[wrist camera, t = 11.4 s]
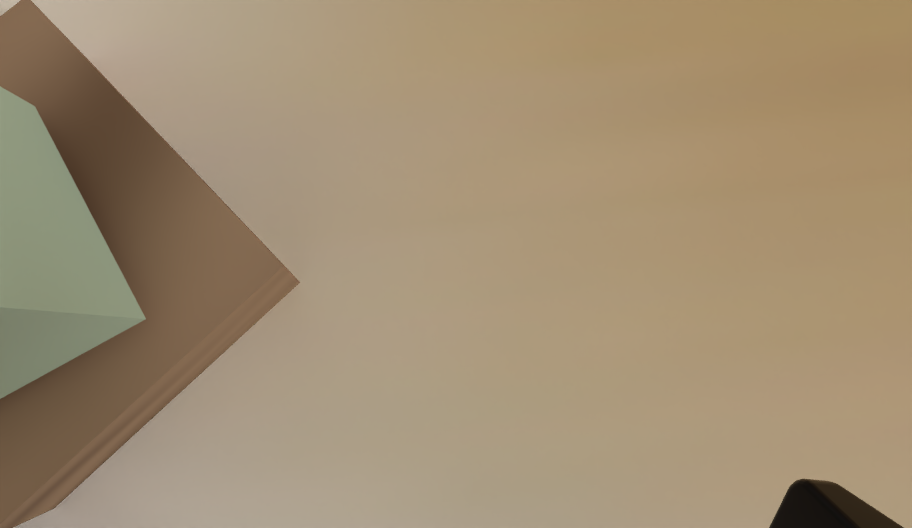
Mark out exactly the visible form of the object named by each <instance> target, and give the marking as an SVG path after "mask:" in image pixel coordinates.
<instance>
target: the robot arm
mask: <svg viewBox="0 0 912 528" xmlns="http://www.w3.org/2000/svg"><path fill="white" fill-rule="evenodd" d="M769 528H903V527H902V526H900V525H899V524H897V523H896V522H894V521H893V520H891V519H890V518H888V517H887V516H885V515H884V514H882V513H881V512H879V511H878V510H876V509H875V508H873V507H872V506H870V505H869V504H867V503H866V502H864V501H863V500H861V499H859V498H858V497H856V496H855V495H853V494H852V493H850V492H849V491H847V490H846V489H844V488H843V487H841V486H840V485H838V484H836V483H833V482H830V481H821V480H811V479H800V480H797V481H795V482H794V483H793V484H792V485H791V486H790V487H789V489H788V491H787V493H786V495H785V497H784V499H783V501H782V503H781V505H780V507H779V509H778V511H777V513H776V515H775V517H774V519H773V521H772V523H771V525H770V527H769Z"/></svg>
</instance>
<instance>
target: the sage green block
mask: <svg viewBox="0 0 912 528" xmlns="http://www.w3.org/2000/svg"><path fill="white" fill-rule="evenodd" d="M145 319H146V318H145V316H144V314H143V312H142V310H141V308H140V306H139V305H138V303H137V301H136V299H135V297H134V295H133V293H132V291H131V289H130V287H129V285H128V284H127V282H126V280H125V278H124V276H123V274H122V272H121V270H120V268H119V266H118V264H117V262H116V261H115V259H114V257H113V255H112V253H111V251H110V249H109V247H108V245H107V243H106V241H105V240H104V238H103V236H102V234H101V232H100V230H99V228H98V226H97V224H96V222H95V220H94V218H93V217H92V215H91V213H90V211H89V209H88V207H87V205H86V203H85V201H84V199H83V197H82V195H81V194H80V192H79V190H78V188H77V186H76V184H75V182H74V180H73V178H72V176H71V174H70V173H69V171H68V169H67V167H66V165H65V163H64V161H63V159H62V157H61V155H60V153H59V151H58V150H57V148H56V146H55V144H54V142H53V140H52V138H51V136H50V134H49V132H48V130H47V128H46V127H45V125H44V123H43V121H42V119H41V117H40V115H39V113H38V111H37V109H36V107H35V106H34V105H32V104H30V103H28V102H27V101H25V100H23V99H21V98H20V97H18V96H16V95H14V94H13V93H11V92H9V91H7V90H6V89H4V88H2V87H0V399H1V398H3V397H5V396H6V395H8V394H10V393H12V392H14V391H16V390H17V389H19V388H21V387H23V386H25V385H27V384H28V383H30V382H32V381H34V380H36V379H37V378H39V377H41V376H43V375H45V374H47V373H48V372H50V371H52V370H54V369H56V368H58V367H59V366H61V365H63V364H65V363H67V362H68V361H70V360H72V359H74V358H76V357H78V356H79V355H81V354H83V353H85V352H87V351H89V350H90V349H92V348H94V347H96V346H98V345H99V344H101V343H103V342H105V341H107V340H109V339H110V338H112V337H114V336H116V335H118V334H120V333H121V332H123V331H125V330H127V329H129V328H131V327H132V326H134V325H136V324H138V323H140V322H141V321H143V320H145Z"/></svg>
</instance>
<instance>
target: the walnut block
mask: <svg viewBox="0 0 912 528" xmlns="http://www.w3.org/2000/svg"><path fill="white" fill-rule="evenodd" d="M0 87H2V88H4V89H6V90H7V91H9V92H11V93H13V94H14V95H16V96H18V97H20V98H21V99H23V100H25V101H27V102H28V103H30V104H32V105H34V106H35V107H36V109H37V111H38V113H39V115H40V117H41V119H42V121H43V123H44V125H45V127H46V128H47V130H48V132H49V134H50V136H51V138H52V140H53V142H54V144H55V146H56V148H57V150H58V151H59V153H60V155H61V157H62V159H63V161H64V163H65V165H66V167H67V169H68V171H69V173H70V174H71V176H72V178H73V180H74V182H75V184H76V186H77V188H78V190H79V192H80V194H81V195H82V197H83V199H84V201H85V203H86V205H87V207H88V209H89V211H90V213H91V215H92V217H93V218H94V220H95V222H96V224H97V226H98V228H99V230H100V232H101V234H102V236H103V238H104V240H105V241H106V243H107V245H108V247H109V249H110V251H111V253H112V255H113V257H114V259H115V261H116V262H117V264H118V266H119V268H120V270H121V272H122V274H123V276H124V278H125V280H126V282H127V284H128V285H129V287H130V289H131V291H132V293H133V295H134V297H135V299H136V301H137V303H138V305H139V306H140V308H141V310H142V312H143V314H144V316H145V318H146V319H145V320H143V321H141V322H140V323H138V324H136V325H134V326H132V327H131V328H129V329H127V330H125V331H123V332H121V333H120V334H118V335H116V336H114V337H112V338H110V339H109V340H107V341H105V342H103V343H101V344H99V345H98V346H96V347H94V348H92V349H90V350H89V351H87V352H85V353H83V354H81V355H79V356H78V357H76V358H74V359H72V360H70V361H68V362H67V363H65V364H63V365H61V366H59V367H58V368H56V369H54V370H52V371H50V372H48V373H47V374H45V375H43V376H41V377H39V378H37V379H36V380H34V381H32V382H30V383H28V384H27V385H25V386H23V387H21V388H19V389H17V390H16V391H14V392H12V393H10V394H8V395H6V396H5V397H3V398H1V399H0V528H13V527H15V526H17V525H19V524H21V523H23V522H26V521H28V520H30V519H32V518H34V517H36V516H38V515H41V514H43V513H45V512H47V511H49V510H51V509H54V508H55V507H56V506H57V505H58V504H59V503H60V502H61V501H63V500H64V499H65V498H66V497H67V496H68V495H69V494H70V493H71V492H72V491H73V490H75V489H76V488H77V487H78V486H79V485H80V484H81V483H82V482H83V481H84V480H85V479H87V478H88V477H89V476H90V475H91V474H92V473H93V472H94V471H95V470H96V469H97V468H98V467H100V466H101V465H102V464H103V463H104V462H105V461H106V460H107V459H108V458H109V457H110V456H112V455H113V454H114V453H115V452H116V451H117V450H118V449H119V448H120V447H121V446H122V445H124V444H125V443H126V442H127V441H128V440H129V439H130V438H131V437H132V436H133V435H134V434H135V433H137V432H138V431H139V430H140V429H141V428H142V427H143V426H144V425H145V424H146V423H147V422H149V421H150V420H151V419H152V418H153V417H154V416H155V415H156V414H157V413H158V412H159V411H161V410H162V409H163V408H164V407H165V406H166V405H167V404H168V403H169V402H170V401H171V400H172V399H174V398H175V397H176V396H177V395H178V394H179V393H180V392H181V391H182V390H183V389H184V388H186V387H187V386H188V385H189V384H190V383H191V382H192V381H193V380H194V379H195V378H196V377H198V376H199V375H200V374H201V373H202V372H203V371H204V370H205V369H206V368H207V367H208V366H209V365H211V364H212V363H213V362H214V361H215V360H216V359H217V358H218V357H219V356H220V355H221V354H223V353H224V352H225V351H226V350H227V349H228V348H229V347H230V346H231V345H232V344H233V343H235V342H236V341H237V340H238V339H239V338H240V337H241V336H242V335H243V334H244V333H245V332H246V331H248V330H249V329H250V328H251V327H252V326H253V325H254V324H255V323H256V322H257V321H258V320H260V319H261V318H262V317H263V316H264V315H265V314H266V313H267V312H268V311H269V310H270V309H272V308H273V307H274V306H275V305H276V304H277V303H278V302H279V301H280V300H281V299H282V298H283V297H285V296H286V295H287V294H288V293H289V292H290V291H291V290H292V289H293V288H294V287H295V286H297V285H298V284H299V283H300V282H299V281H298V280H297V279H296V277H295V276H294V275H293V274H292V273H291V272H290V271H289V270H288V269H287V268H286V267H285V266H284V265H283V264H282V263H281V262H280V261H279V260H278V259H277V258H276V256H275V255H274V254H273V253H272V252H271V251H270V250H269V249H268V248H267V247H266V246H265V245H264V244H263V243H262V242H261V241H260V240H259V239H258V238H257V237H256V235H255V234H254V233H253V232H252V231H251V230H250V229H249V228H248V227H247V226H246V225H245V224H244V223H243V222H242V221H241V220H240V219H239V218H238V217H237V216H236V214H235V213H234V212H233V211H232V210H231V209H230V208H229V207H228V206H227V205H226V204H225V203H224V202H223V201H222V200H221V199H220V198H219V197H218V196H217V195H216V193H215V192H214V191H213V190H212V189H211V188H210V187H209V186H208V185H207V184H206V183H205V182H204V181H203V180H202V179H201V178H200V177H199V176H198V175H197V174H196V172H195V171H194V170H193V169H192V168H191V167H190V166H189V165H188V164H187V163H186V162H185V161H184V160H183V159H182V158H181V157H180V156H179V155H178V154H177V153H176V151H175V150H174V149H173V148H172V147H171V146H170V145H169V144H168V143H167V142H166V141H165V140H164V139H163V138H162V137H161V136H160V135H159V134H158V133H157V132H156V130H155V129H154V128H153V127H152V126H151V125H150V124H149V123H148V122H147V121H146V120H145V119H144V118H143V117H142V116H141V115H140V114H139V113H138V112H137V111H136V109H135V108H134V107H133V106H132V105H131V104H130V103H129V102H128V101H127V100H126V99H125V98H124V97H123V96H122V95H121V94H120V93H119V92H118V91H117V90H116V88H115V87H114V86H113V85H112V84H111V83H110V82H109V81H108V80H107V79H106V78H105V77H104V76H103V75H102V74H101V73H100V72H99V71H98V70H97V69H96V67H95V66H94V65H93V64H92V63H91V62H90V61H89V60H88V59H87V58H86V57H85V56H84V55H83V54H82V53H81V52H80V51H79V50H78V49H77V48H76V47H75V46H74V45H73V44H72V43H71V41H70V40H69V39H68V38H67V37H66V36H65V35H64V34H63V33H62V32H61V31H60V30H59V29H58V28H57V27H56V26H55V25H54V24H53V23H52V22H51V21H50V20H49V19H48V18H47V17H46V16H45V15H44V14H43V13H42V12H41V10H40V9H39V8H38V7H37V6H36V5H35V4H34V3H33V2H32V1H31V0H21V1H19V2H18V3H17V4H16V5H14V6H13V7H12V8H11V9H9V10H8V11H7V12H6V13H4V14H3V15H2V16H0Z"/></svg>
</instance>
